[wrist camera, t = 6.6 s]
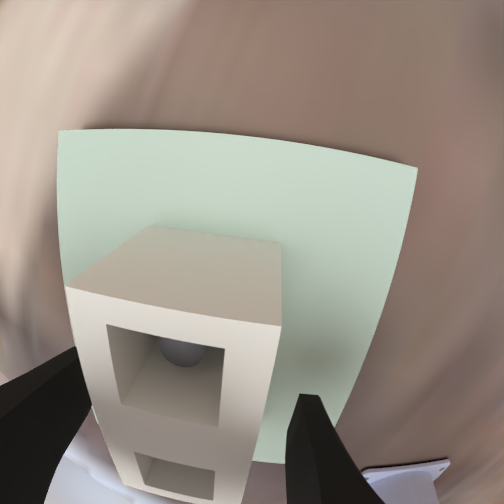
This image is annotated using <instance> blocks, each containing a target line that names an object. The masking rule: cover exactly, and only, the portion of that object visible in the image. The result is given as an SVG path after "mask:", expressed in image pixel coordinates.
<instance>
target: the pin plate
mask: <svg viewBox="0 0 504 504" xmlns="http://www.w3.org/2000/svg"><path fill="white" fill-rule="evenodd" d="M417 171H418V168H415V167H411V166H408V165H404V164H400V163H396V162H392V161H388V160H383V159H379V158H375V157H370V156H366V155H361V154H356V153H351V152H346V151H341V150H336V149H331V148H325V147H319V146H314V145H308V144H301V143H295V142H288V141H281V140H274V139H267V138H259V137H250V136H241V135H231V134H221V133H209V132H195V131H178V130H154V129H88V130H65V131H59V135H58V153H57V212H58V230H59V244H60V255H61V264H62V273H63V280H64V288H65V286H66V285H67V284H69V283H70V282H71V281H72V280H74V279H75V278H76V277H78V276H79V275H80V274H82V273H83V272H84V271H86V270H87V269H88V268H90V267H91V266H92V265H94V264H95V263H96V262H98V261H99V260H100V259H102V258H103V257H105V256H106V255H107V254H109V253H110V252H111V251H113V250H114V249H116V248H117V247H118V246H120V245H121V244H123V243H124V242H126V241H127V240H128V239H130V238H131V237H133V236H134V235H136V234H137V233H138V232H140V231H141V230H143V229H144V228H146V227H147V226H157V227H165V228H173V229H181V230H188V231H196V232H204V233H211V234H219V235H226V236H234V237H241V238H248V239H256V240H263V241H270V242H278V243H281V252H282V328H281V333H280V338H279V343H278V348H277V353H276V358H275V362H274V367H273V372H272V377H271V381H270V386H269V390H268V395H267V399H266V404H265V408H264V413H263V417H262V421H261V426H260V430H259V434H258V438H257V442H256V447H255V451H254V455H253V459H252V461H260V462H270V463H282V464H285V450H286V436H287V429H288V426H289V423H290V421H291V418H292V415H293V412H294V409H295V405H296V402H297V399H298V396H299V393H301V394H313V395H319V397H320V398H321V400H322V403H323V405H324V407H325V409H326V412H327V414H328V416H329V418H330V420H331V422H332V424H333V426H334V427H335V425H336V423H337V421H338V419H339V417H340V415H341V413H342V411H343V408H344V406H345V404H346V402H347V400H348V398H349V395H350V393H351V391H352V388H353V386H354V384H355V381H356V379H357V377H358V374H359V372H360V369H361V367H362V365H363V362H364V359H365V357H366V354H367V352H368V349H369V347H370V344H371V341H372V339H373V336H374V333H375V330H376V327H377V325H378V322H379V319H380V316H381V313H382V310H383V307H384V304H385V301H386V298H387V295H388V291H389V288H390V285H391V282H392V278H393V275H394V271H395V268H396V264H397V261H398V257H399V253H400V250H401V246H402V242H403V238H404V234H405V230H406V225H407V221H408V217H409V212H410V208H411V203H412V198H413V193H414V188H415V183H416V177H417ZM65 294H66V289H65ZM66 301H67V295H66ZM67 307H68V302H67ZM68 312H69V307H68ZM69 318H70V313H69ZM70 323H71V318H70ZM71 328H72V324H71ZM72 333H73V328H72ZM73 338H74V333H73ZM74 342H75V338H74ZM159 346H160V351H161V353H162V355H163V356H164V357H165V358H166V359H167V360H168V361H169V362H171V363H172V364H174V365H177V366H180V367H192V366H195V365H197V364H198V363H199V362H200V361H201V359H202V356H203V353H204V351H205V348H206V345H201V344H196V343H190V342H185V341H180V340H175V339H170V338H165V337H162V338H161V340H160V344H159ZM75 347H76V342H75ZM92 408H93V405H92ZM93 411H94V408H93ZM94 414H95V411H94ZM95 417H96V414H95ZM96 420H97V417H96ZM97 423H98V420H97ZM98 424H99V423H98Z"/></svg>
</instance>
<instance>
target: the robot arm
mask: <svg viewBox="0 0 504 504" xmlns="http://www.w3.org/2000/svg"><path fill="white" fill-rule="evenodd" d="M91 406H92V402H91V399H90V395H89V392H88V389H87V385H86V382H85V378H84V375H83V371H82V367H81V363H80V359H79V355H78V351H77V347H75V346H74V347H72V348H70V349H68V350H67V351H65V352H63V353H61V354H59V355H57V356H56V357H54V358H52V359H50V360H49V361H47V362H45V363H43V364H42V365H40V366H38V367H36V368H34V369H33V370H31V371H29V372H27V373H25V374H23V375H21V376H19V377H17V378H15V379H13V380H11V381H9V382H7V383H5V384H3V385H1V386H0V504H44V501H45V498H46V495H47V492H48V489H49V486H50V483H51V480H52V478H53V476H54V473H55V470H56V468H57V466H58V464H59V462H60V460H61V458H62V456H63V454H64V453H65V451H66V449H67V448H68V446H69V444H70V443H71V441H72V439H73V438H74V436H75V435H76V433H77V431H78V430H79V428H80V426H81V425H82V423H83V421H84V420H85V418H86V416H87V415H88V413H89V411H90V409H91ZM449 465H450V460H449V459H446V460H440V461H435V462H429V463H422V464H415V465H407V466H398V467H388V468H375V469H367V470H364V471H363V472H362V473H361V472H360V471H359V469H358V468H357V466H356V465H355V463H354V462H353V460H352V458H351V457H350V455H349V453H348V452H347V450H346V448H345V447H344V445H343V443H342V441H341V439H340V438H339V436H338V434H337V432H336V430H335V428H334V426H333V424H332V422H331V420H330V418H329V416H328V414H327V412H326V409H325V407H324V405H323V403H322V400H321V398H320V397H319V395H313V394H301V393H299V396H298V399H297V402H296V405H295V409H294V412H293V415H292V418H291V421H290V423H289V426H288V429H287V436H286V450H285V470H286V491H287V504H439V501H438V497H437V494H436V490H435V487H434V484H433V481H434V480H435V479H436V478H437V477H438V476H439V475H440V474H441V473H442V472H443V471H444V470H445V469H446V468H447V467H448V466H449Z"/></svg>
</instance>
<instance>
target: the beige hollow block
mask: <svg viewBox="0 0 504 504" xmlns="http://www.w3.org/2000/svg"><path fill="white" fill-rule="evenodd" d="M65 289H66V295H67V302H68V307H69V313H70V318H71V324H72V328H73V333H74V338H75V342H76V347H77V351H78V355H79V359H80V363H81V367H82V371H83V375H84V378H85V382H86V385H87V389H88V392H89V395H90V399H91V402H92V405H93V408H94V411H95V414H96V417H97V420H98V423H99V425H100V428H101V431H102V434H103V436H104V439H105V442H106V444H107V447H108V449H109V452H110V454H111V457H112V459H113V461H114V464H115V466H116V468H117V471H118V473H119V475H120V477H121V480H122V482H123V484H124V485H127V486H130V487H134V488H137V489H140V490H143V491H147V492H150V493H154V494H157V495H161V496H165V497H169V498H173V499H177V500H181V501H186V502H190V503H195V504H241V501H242V498H243V494H244V490H245V486H246V482H247V478H248V475H249V471H250V467H251V463H252V459H253V455H254V451H255V447H256V442H257V438H258V434H259V430H260V426H261V421H262V417H263V413H264V408H265V404H266V399H267V395H268V390H269V386H270V381H271V377H272V372H273V367H274V362H275V358H276V353H277V348H278V343H279V338H280V333H281V328H282V252H281V243H278V242H270V241H263V240H256V239H248V238H241V237H234V236H226V235H219V234H211V233H204V232H196V231H188V230H181V229H173V228H165V227H157V226H147V227H146V228H144V229H143V230H141V231H140V232H138V233H137V234H136V235H134V236H133V237H131V238H130V239H128V240H127V241H126V242H124V243H123V244H121V245H120V246H118V247H117V248H116V249H114V250H113V251H111V252H110V253H109V254H107V255H106V256H105V257H103V258H102V259H100V260H99V261H98V262H96V263H95V264H94V265H92V266H91V267H90V268H88V269H87V270H86V271H84V272H83V273H82V274H80V275H79V276H78V277H76V278H75V279H74V280H72V281H71V282H70V283H69V284H67V285H66V286H65ZM162 337H165V338H170V339H175V340H180V341H185V342H190V343H196V344H201V345H206V348H205V351H204V353H203V356H202V359H201V361H200V362H199V363H198V364H197V365H195V366H192V367H180V366H177V365H174V364H172V363H171V362H169V361H168V360H167V359H166V358H165V357H164V356H163V355H162V353H161V351H160V346H159V344H160V340H161V338H162Z"/></svg>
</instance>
